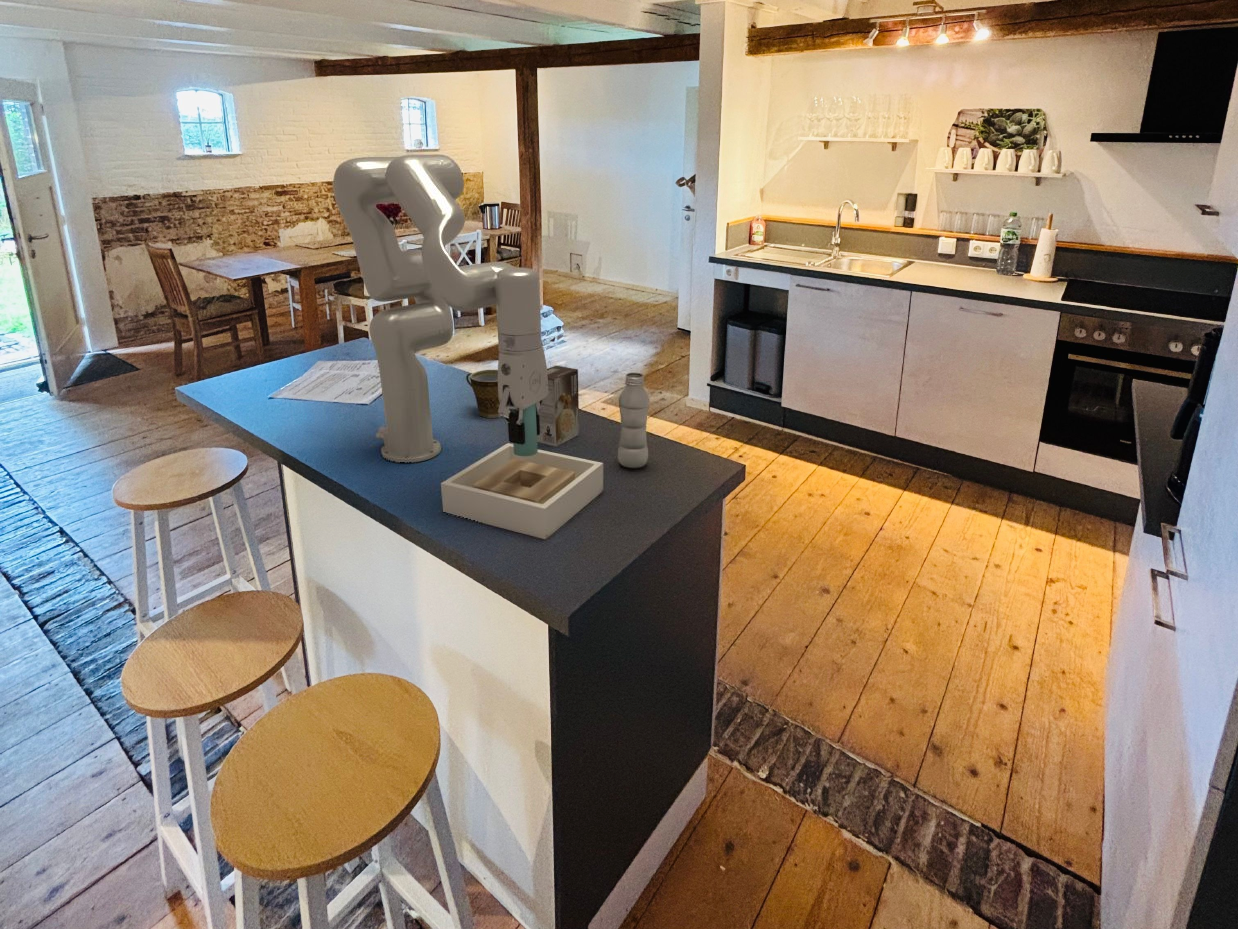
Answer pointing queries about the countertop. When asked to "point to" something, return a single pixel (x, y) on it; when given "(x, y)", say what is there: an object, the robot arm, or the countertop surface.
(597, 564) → the countertop surface
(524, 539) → the countertop surface
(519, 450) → the peg
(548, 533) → the open box
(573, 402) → the coffee box
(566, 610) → the countertop surface
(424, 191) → the robot arm
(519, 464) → the bore plate
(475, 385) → the ceramic cup
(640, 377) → the plastic bottle
